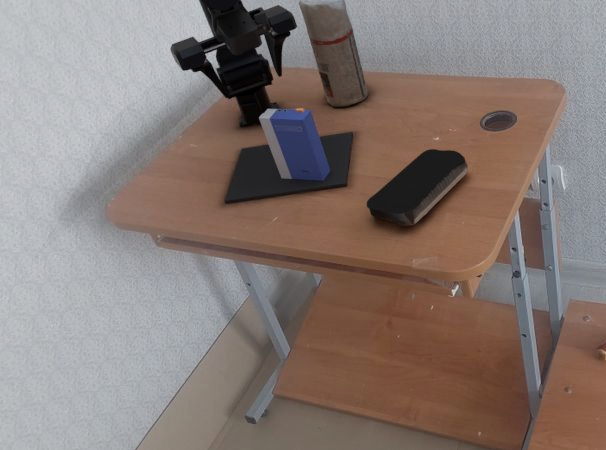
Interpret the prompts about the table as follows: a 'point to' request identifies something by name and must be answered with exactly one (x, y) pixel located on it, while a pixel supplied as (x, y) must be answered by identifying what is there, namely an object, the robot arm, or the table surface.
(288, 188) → the mat
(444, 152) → the black sponge
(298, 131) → the walkman
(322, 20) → the beige cylindrical container
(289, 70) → the table surface
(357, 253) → the table surface
